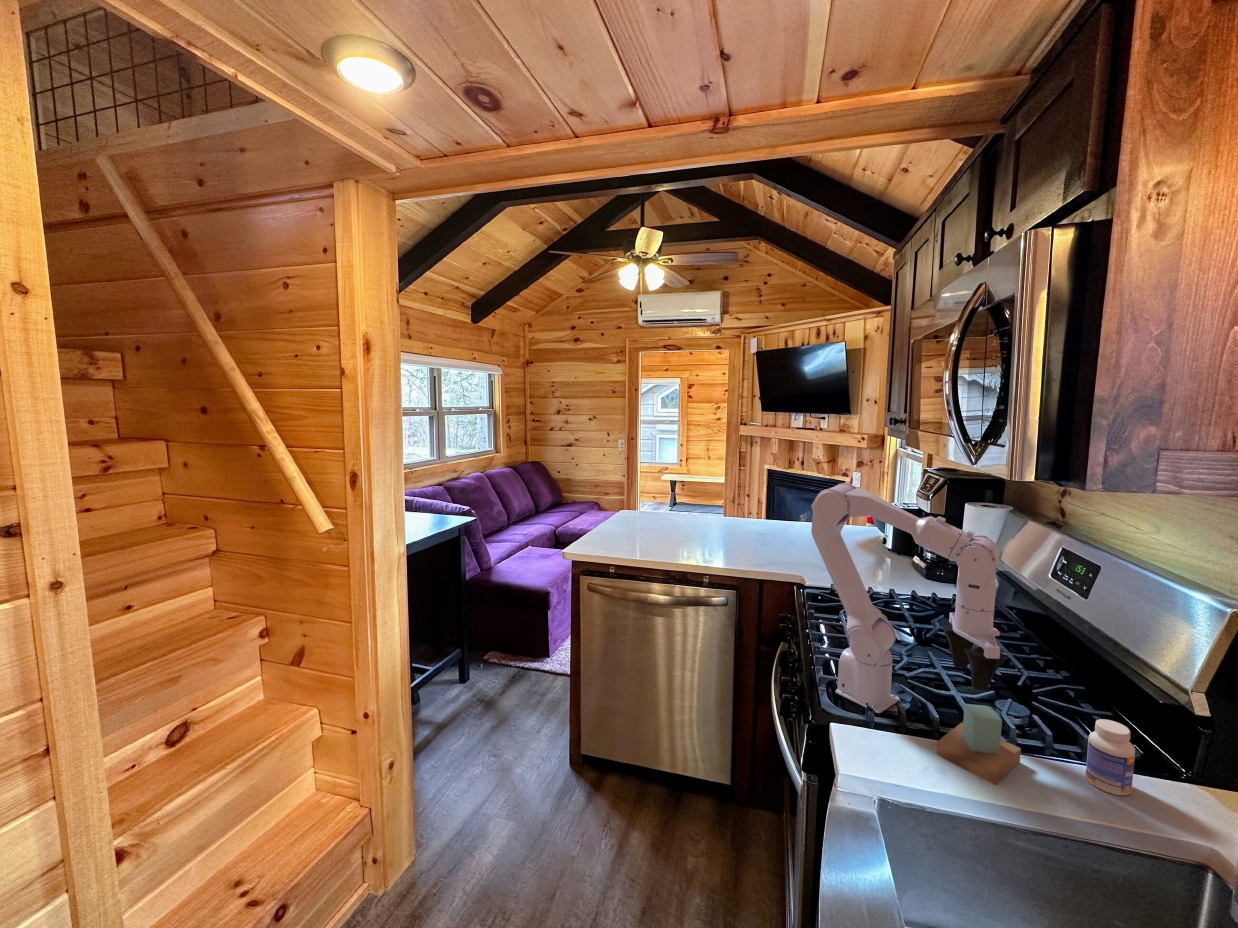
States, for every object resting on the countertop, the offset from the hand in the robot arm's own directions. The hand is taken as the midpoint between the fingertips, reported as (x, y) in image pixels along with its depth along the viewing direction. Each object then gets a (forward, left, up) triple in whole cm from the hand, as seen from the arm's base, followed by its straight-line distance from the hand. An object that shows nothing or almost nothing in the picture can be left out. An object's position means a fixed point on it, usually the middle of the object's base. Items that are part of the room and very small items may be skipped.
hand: (969, 677), depth 97 cm
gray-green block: (+5, -6, -8) cm, 11 cm away
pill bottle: (+19, +3, -11) cm, 22 cm away
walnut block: (+5, -7, -11) cm, 13 cm away
